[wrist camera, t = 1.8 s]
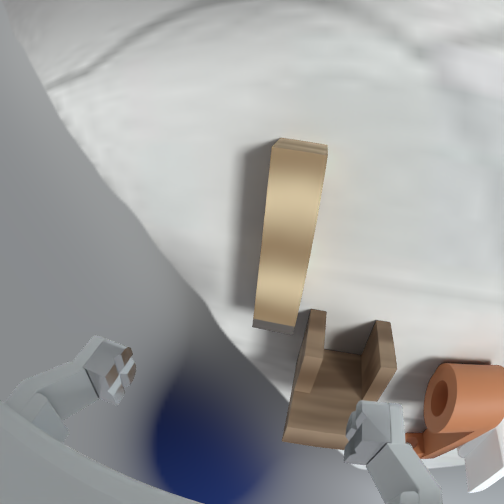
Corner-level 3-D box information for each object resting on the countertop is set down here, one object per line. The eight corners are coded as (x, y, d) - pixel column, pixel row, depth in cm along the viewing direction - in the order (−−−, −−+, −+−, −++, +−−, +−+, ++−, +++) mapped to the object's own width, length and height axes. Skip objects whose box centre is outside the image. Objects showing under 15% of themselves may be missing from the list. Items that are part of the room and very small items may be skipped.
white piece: (470, 391, 31) (486, 469, 20) (516, 388, 29) (536, 457, 19) (442, 427, 35) (449, 496, 25) (487, 423, 33) (498, 486, 23)
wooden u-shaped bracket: (311, 308, 29) (298, 394, 21) (390, 322, 28) (401, 407, 20) (296, 363, 33) (281, 441, 25) (365, 374, 32) (365, 451, 24)
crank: (448, 348, 28) (463, 406, 22) (499, 351, 27) (518, 403, 20) (386, 437, 38) (386, 482, 32) (431, 437, 37) (434, 480, 30)
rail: (280, 137, 23) (271, 147, 19) (327, 145, 22) (327, 155, 19) (261, 299, 30) (252, 326, 27) (298, 306, 30) (292, 335, 26)
